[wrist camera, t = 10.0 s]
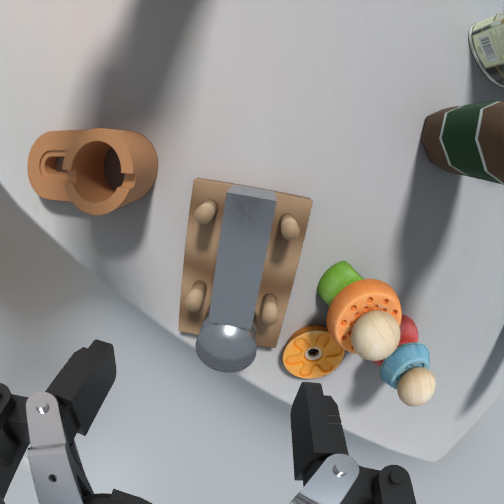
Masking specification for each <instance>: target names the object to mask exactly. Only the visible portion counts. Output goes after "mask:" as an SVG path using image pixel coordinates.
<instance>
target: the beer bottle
mask: <svg viewBox="0 0 504 504" xmlns="http://www.w3.org/2000/svg"><path fill="white" fill-rule="evenodd" d="M421 140H422V142H423V144H424V147H425V149H426V152H427V155H428V157H429V160H430V162H432V163H434V164H436V165H437V166H439V167H441V168H443V169H445V170H447V171H449V172H452V173H455V174H460V175H465V176H469V177H474V178H478V179H483V180H487V181H491V182H495V183H499V184H503V185H504V101H497V102H487V103H478V104H470V105H463V106H456V107H450V108H446V109H443V110H441V111H438V112H436V113H434V114H431V115H429V116H427V117H426V121H425V125H424V129H423V133H422V137H421Z"/></svg>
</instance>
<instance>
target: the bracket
mask: <svg viewBox="0 0 504 504" xmlns="http://www.w3.org/2000/svg"><path fill="white" fill-rule="evenodd" d="M111 148H113V149H114V150H115V151H116V153H117V155H118V157H119V160H120V164H121V173H125V177H124V181H123V184H122V186H120V187H117V189H116V190H115V189H114V188H112V187H111V186H110V185H109V184H108V182H107V180H106V178H105V176H104V171H103V165H104V159H105V157H106V154H107V153H108V151H109V150H110V149H111ZM58 156H65V157H64V161H63V167H62V169H64V170H67V172H59V171H57V169H56V167H55V162H56V159H57V157H58ZM157 172H158V158H157V154H156V151H155V149H154V147H153V145H152V143H151V142H150V141H149V140H148V139H147V138H146V137H145V136H143V135H142V134H140V133H138V132H134V131H127V130H117V129H105V128H94V129H90V130H66V131H50V132H46V133H44V134H43V135H41V136H40V137H39V138H38V139H37V140H36V141H35V143H34V144H33V146H32V148H31V151H30V154H29V158H28V177H29V180H30V183H31V186H32V187H33V189H34V191H35V192H36V193H37V194H38V195H39V196H41V197H42V198H45V199H50V200H59V201H69V202H72V203H73V204H74V205H75V206H76V207H77V208H78V209H79V210H81V211H83V212H85V213H87V214H90V215H103V214H107V213H109V212H111V211H114V210H116V209H118V208H120V207H122V206H125V205H127V204H129V203H131V202H134V201H136V200H138V199H140V198H142V197H143V196H144V195H146V194H147V193H148V192H149V190H150V189H151V188H152V186H153V184H154V182H155V180H156V177H157Z"/></svg>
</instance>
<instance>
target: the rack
mask: <svg viewBox="0 0 504 504" xmlns="http://www.w3.org/2000/svg"><path fill="white" fill-rule="evenodd" d="M233 185H234V184H233V183H227V182H221V181H214V180H208V179H201V178H197V179H195V180H194V183H193V190H192V197H191V204H190V212H189V220H188V228H187V237H186V246H185V255H184V265H183V276H182V287H181V300H180V313H179V329H178V331H183V332H188V333H192V334H197V335H199V332H200V329H201V326H202V323H203V320H204V317H205V314H206V311H207V308H208V306H209V305H210V304H211V297H212V290H213V282H214V274H215V267H216V260H217V253H218V246H219V239H220V232H221V225H222V218H223V212H224V205H225V199H226V193H227V191H228V190H229V189H230V188H231V187H232V186H233ZM235 185H239V184H235ZM241 186H244V185H241ZM247 187H250V186H247ZM253 188H255V187H253ZM259 189H261V188H259ZM264 190H266V189H264ZM270 191H272V190H270ZM274 193H275V196H276V200H277V203H276V208H275V213H274V218H273V223H272V229H271V234H270V239H269V244H268V249H267V254H266V259H265V264H264V269H263V273H262V278H261V283H260V288H259V293H258V298H257V303H256V308H255V311H256V313H257V317H258V322H257V345H258V346H265V347H271V348H276V345H277V341H278V338H279V334H280V331H281V327H282V323H283V320H284V316H285V312H286V309H287V305H288V301H289V297H290V294H291V290H292V286H293V282H294V278H295V274H296V270H297V266H298V262H299V258H300V254H301V250H302V246H303V241H304V237H305V233H306V229H307V224H308V220H309V216H310V211H311V207H312V202H313V201H312V200H311V199H310V198H306V197H302V196H297V195H292V194H287V193H282V192H277V191H274Z"/></svg>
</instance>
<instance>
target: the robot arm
mask: <svg viewBox="0 0 504 504" xmlns="http://www.w3.org/2000/svg"><path fill="white" fill-rule="evenodd" d="M115 378H116V363H115V357H114V348H113V345H112V344H110V343H106V342H103V341H100V340H95V341H93V343H92V344H91V345H90V347H89V348H88V349H87V348H84V347H83V348H81V349H80V350H78V351H77V352H75V353H74V354H73V355H72V356H71V358H70V359H69V360H68V362H67V363H66V364H65V366H64V368H62V370H61V371H60V372H59V374H58V375H57V376H56V378H55V379H54V380H53V382H52V383H51V384H50V386H49V387H48V389H47V390H46V391H45V392H37V393H34V394H32V395H31V396H30V397H23V396H18V395H13V394H11V392H10V390H9V388H8V387H7V386H6V385H4V384H2V383H0V504H5V502H4V500H3V499H4V497H5V495H6V493H7V490H8V488H9V485H10V483H11V481H12V479H13V477H14V474H15V472H16V470H17V468H18V466H19V464H20V462H21V459H22V457H23V455H24V453H25V451H26V449H27V447H28V445H29V444H31V448H28V458H29V464H30V469H31V473H32V477H33V482H34V486H35V490H36V494H37V497H38V501H39V504H152V503H150V502H148V501H146V500H144V499H142V498H140V497H137V496H134V495H131V494H127V493H124V492H121V491H119V490H116V489H113V492H112V494H103V493H102V494H94V492H93V490H92V488H91V486H90V484H89V482H88V479H87V477H86V475H85V472H84V469H83V466H82V463H81V460H80V457H79V454H78V451H77V447H76V443H75V440H74V437H75V436H76V433H79V434H82V435H84V436H86V434H87V432H88V430H89V428H90V426H91V424H92V422H93V420H94V418H95V416H96V415H97V412H98V411H99V409H100V407H101V405H102V403H103V401H104V400H105V397H106V396H107V394H108V392H109V390H110V388H111V387H112V385H113V383H114V381H115ZM339 415H340V414H339V410H338V406H337V404H336V403H335V401H334V400H333V398H332V397H331V396H324V395H323V390H322V386H321V384H320V383H310V382H302V383H301V385H300V388H299V390H298V393H297V395H296V397H295V400H294V402H293V405H292V409H291V430H292V444H293V445H292V446H293V461H294V476H295V480H303V485H304V487H303V489H302V490H301V491H300V492H299V493H298V494H297V495H296V496H295V498H294V499H293V500H292V501H291V502H290V503H289V504H416V500H415V496H414V492H413V487H412V483H411V479H410V476H409V474H408V472H407V471H406V470H405V469H404V468H402V467H401V466H398V465H389V466H386V467H384V468H383V469H382V470H381V471H379V470H374V469H369V468H365V467H361V466H359V465H358V464H357V462H356V461H355V460H354V459H353V458H352V457H350V456H349V454H348V450H347V446H346V441H345V437H344V432H343V428H342V425H341V419H340V417H339Z"/></svg>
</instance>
